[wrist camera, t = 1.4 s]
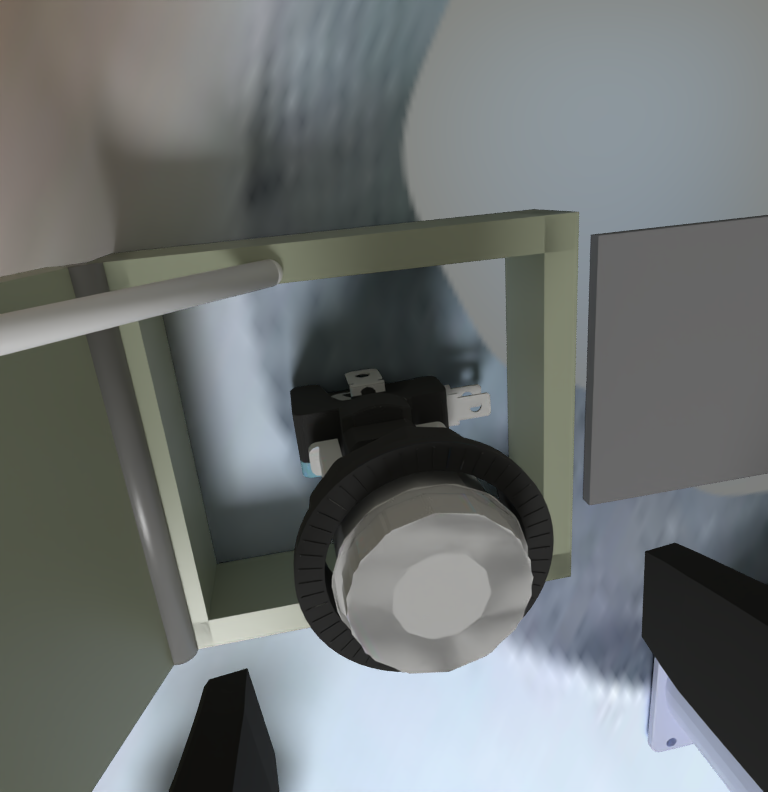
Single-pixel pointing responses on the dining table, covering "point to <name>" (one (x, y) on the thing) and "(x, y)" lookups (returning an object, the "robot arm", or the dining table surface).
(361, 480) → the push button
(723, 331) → the mat
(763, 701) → the robot arm
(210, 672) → the dining table surface
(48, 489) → the equipment case
